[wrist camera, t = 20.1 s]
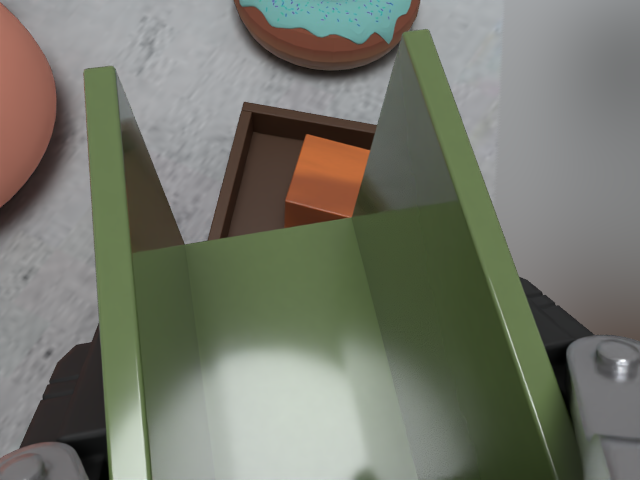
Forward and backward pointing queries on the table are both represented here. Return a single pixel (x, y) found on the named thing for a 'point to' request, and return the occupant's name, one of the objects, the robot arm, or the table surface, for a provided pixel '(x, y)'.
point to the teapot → (22, 104)
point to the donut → (328, 29)
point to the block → (324, 182)
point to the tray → (271, 165)
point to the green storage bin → (323, 318)
